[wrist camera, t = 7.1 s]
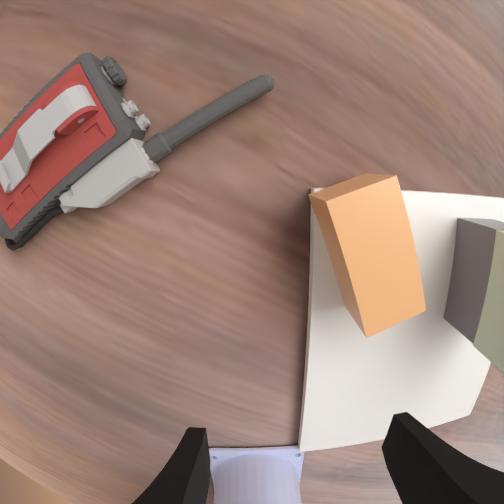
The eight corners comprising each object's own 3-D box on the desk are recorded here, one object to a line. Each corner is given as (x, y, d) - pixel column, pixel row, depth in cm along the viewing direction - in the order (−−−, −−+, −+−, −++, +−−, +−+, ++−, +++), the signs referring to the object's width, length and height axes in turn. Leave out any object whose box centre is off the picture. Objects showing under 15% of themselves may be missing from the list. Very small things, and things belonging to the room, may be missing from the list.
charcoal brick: (477, 312, 19) (508, 335, 15) (443, 317, 19) (473, 344, 15) (492, 219, 17) (530, 230, 13) (457, 217, 17) (496, 229, 13)
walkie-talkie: (36, 270, 19) (280, 100, 17) (0, 290, 15) (290, 79, 13) (-12, 173, 17) (206, -3, 15) (-51, 177, 13) (197, -40, 11)
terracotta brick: (395, 284, 18) (426, 310, 14) (344, 305, 18) (366, 337, 15) (365, 173, 17) (396, 175, 13) (307, 194, 17) (325, 201, 13)
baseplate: (465, 408, 23) (469, 414, 22) (298, 443, 23) (299, 451, 22) (514, 199, 18) (523, 200, 17) (310, 187, 18) (314, 188, 17)
